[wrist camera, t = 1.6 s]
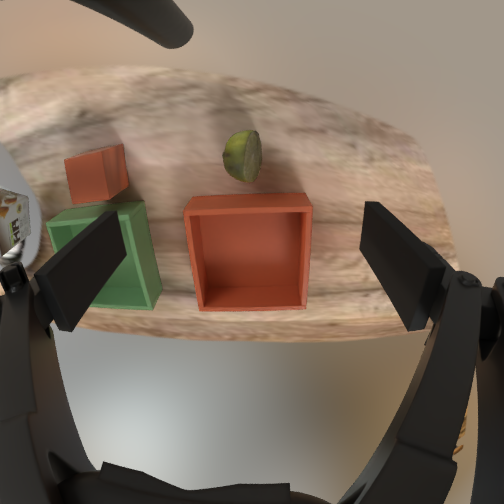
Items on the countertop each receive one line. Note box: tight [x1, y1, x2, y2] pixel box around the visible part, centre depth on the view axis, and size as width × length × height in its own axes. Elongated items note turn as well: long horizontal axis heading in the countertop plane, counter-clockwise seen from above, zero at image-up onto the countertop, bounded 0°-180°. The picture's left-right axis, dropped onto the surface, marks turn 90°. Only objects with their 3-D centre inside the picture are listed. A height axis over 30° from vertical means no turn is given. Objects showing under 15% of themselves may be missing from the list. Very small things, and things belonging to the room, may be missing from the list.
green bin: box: [46, 201, 162, 310], centre depth 32 cm, size 12×12×4 cm
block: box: [64, 144, 129, 204], centre depth 26 cm, size 5×5×5 cm
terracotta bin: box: [183, 193, 313, 311], centre depth 31 cm, size 12×12×4 cm
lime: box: [222, 130, 262, 182], centre depth 26 cm, size 4×5×5 cm
